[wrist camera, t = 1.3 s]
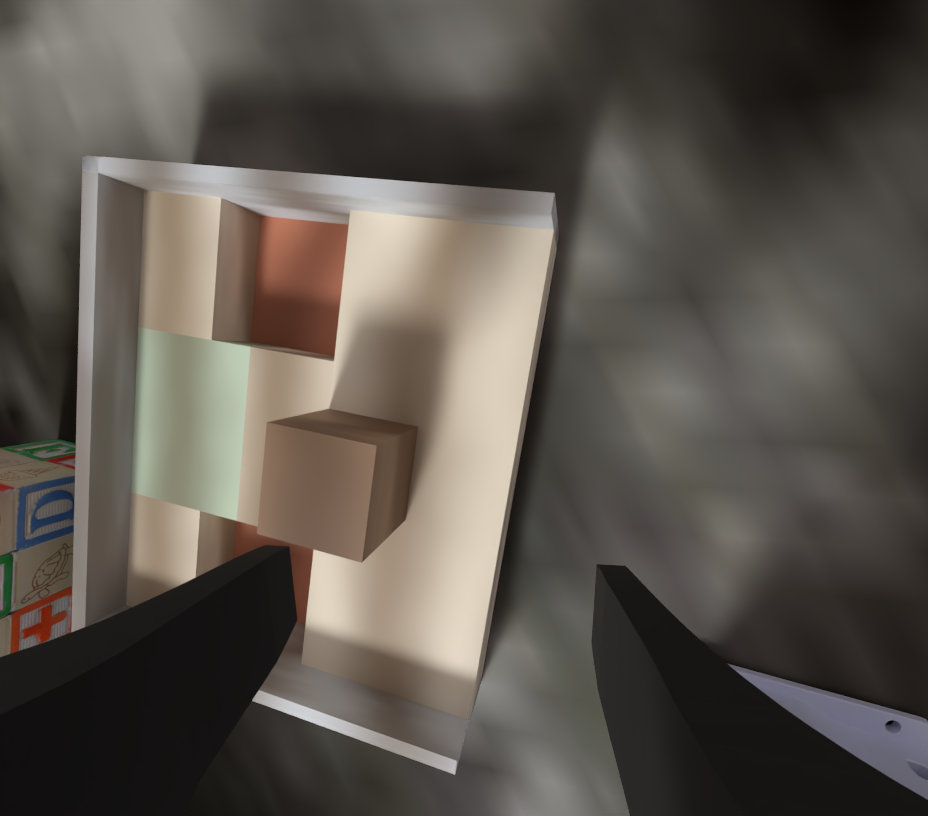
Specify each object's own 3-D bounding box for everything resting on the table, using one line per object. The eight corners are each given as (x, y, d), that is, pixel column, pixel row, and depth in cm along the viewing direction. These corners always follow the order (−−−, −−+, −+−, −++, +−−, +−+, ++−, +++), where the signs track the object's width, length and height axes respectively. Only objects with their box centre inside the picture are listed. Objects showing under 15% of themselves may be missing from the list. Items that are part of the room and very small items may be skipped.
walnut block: (418, 426, 18) (376, 445, 14) (405, 520, 19) (362, 562, 15) (328, 408, 19) (266, 422, 15) (319, 498, 20) (256, 533, 16)
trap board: (559, 234, 19) (554, 192, 14) (480, 683, 22) (455, 774, 17) (185, 197, 23) (82, 155, 18) (164, 582, 26) (71, 634, 21)
